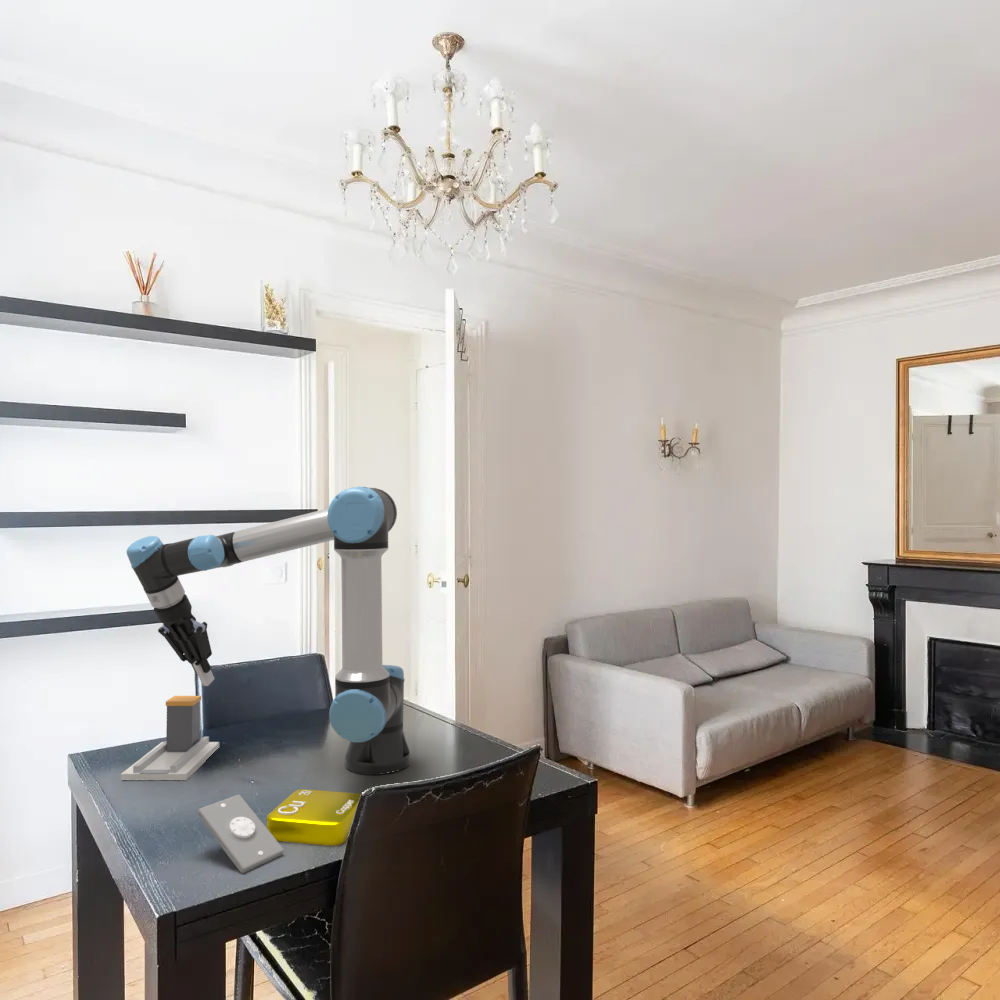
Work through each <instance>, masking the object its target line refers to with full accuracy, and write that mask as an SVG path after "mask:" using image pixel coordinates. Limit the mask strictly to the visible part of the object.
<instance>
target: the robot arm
mask: <svg viewBox="0 0 1000 1000" xmlns="http://www.w3.org/2000/svg"><path fill="white" fill-rule="evenodd" d="M397 516H398V509H397V505H396V502H395V500H394V499H393V498H392V496H390V494H388V492H386V491H384V490H383V489H380V488H377V487H366V486H352V487H350V488H346V489H344V490H342V491H341V492H338V494H336V495H335V496H334V497H333V499H332V500H331V502H330V504H329V505H328V508H324V509H320V510H316V511H312V512H309V513H305V514H300V515H297V516H292V517H289V518H285V519H280V520H276V521H272V522H268V523H264V524H261V525H260V524H259V525H257V526H253V527H249V528H246V529H241V530H236V531H233V532H228V533H224V534H220V535H215V534H208V535H198V536H196V537H191V538H188V539H184V540H180V541H177V542H170V543H164V542H163V541H162V540H161V539H160V537H158V536H157V535H149V536H144V537H142V538H140V539H138V540H135V541H134V542H132V543H131V544H130V545H129V546H128V547H127V549H126V556H127V558H128V561H129V563H130V566H131V569H132V570H133V571H134V573H135V575H136V577H137V579H138V581H139V582H140V584H141V586H142V589H143V591H144V593H145V595H146V597H147V599H148V601H149V604H150V605H151V606H152V607H153V611H154V613H155V616H156V617H157V619H158V621H159V622H160V623H161V624H162V625H161V627H159V628H158V629H157V632H158V633H159V634H160V635H161V636H162V637H163V638H164V639H165V640H166V642H167V643H168V644H169V646H170V647H171V649H172V650H173V651H174V652H175V653H176V655H177V656H178V657H179V659H180V661H182V662H186V661H187V662H188V663H189V664H190V665H191V667H192V669H193V671H194V673H196V674H197V676H198V678H199V681H200V683H201V685H202V686H203V687H209V686H210V685H211V684H212V683H213V681H214V680H215V676H214V675H213V672H212V666H211V665H210V663H209V661H208V659H209V658H210V657H211V656H212V655H213V652H212V651H213V650H212V647H211V643H210V640H209V635H208V630H207V629H208V622H206V621H203V622H202V623H201V622H199V621H198V620H197V618H196V617H195V616H194V614H192V604H191V602H190V600H189V597H188V595H187V594H186V593H185V592H186V591H185V588H184V587H183V584H182V582H181V580H180V578H179V576H183V575H187V574H193V573H199V572H206V571H209V570H214V569H219V568H227V567H231V566H232V567H233V566H234V565H236V564H241V563H244V562H248V561H252V560H256V559H260V558H264V557H268V556H269V557H270V556H272V555H276V554H280V553H281V554H282V553H286V552H289V551H294V550H297V549H298V550H299V549H302V548H306V547H311V546H315V545H318V544H323V543H327V542H330V541H333V550H334V551H335V552H336V554H338V555H339V556H340V558H341V561H340V562H341V563H340V564H341V570H340V571H341V572H340V573H341V574H340V575H341V649H342V651H341V652H342V656H341V658H342V660H341V661H342V662H341V663H342V666H341V669H340V670H339V672H337V673H336V674H335V677H334V681H335V682H334V683H335V685H334V688H335V690H334V691H335V697H334V699H332V702H331V704H330V707H329V712H328V716H329V718H328V719H329V722H330V725H331V728H332V729H333V731H334V732H335V733H336V734H337V735H338V736H339V737H341V738H342V739H343V740H345V741H348V742H349V743H348V745H347V748H346V753H345V757H344V766H345V769H347V770H349V771H350V772H352V773H356V772H358V773H357V774H360V773H365V774H364V775H371V774H376V775H381V774H380V773H387V772H392V771H397V770H400V771H402V770H401V769H403V768H405V767H406V766H408V765H409V766H410V764H411V751H410V747H409V745H408V740H407V738H406V735H405V731H404V705H405V704H404V703H405V702H404V700H405V699H404V697H405V695H404V694H405V690H404V688H405V684H404V683H405V675H404V673H405V672H404V669H403V668H402V667H401V666H398V665H391V664H383V605H382V604H383V603H382V601H383V597H382V596H383V593H382V592H383V590H382V587H383V585H382V582H383V581H382V577H383V576H382V557H383V555H384V554H385V553H386V552H387V551H388V550H389V532H391V530H392V529H393V527H394V526H395V524H396V522H397V519H398V518H397ZM409 763H410V764H409ZM409 766H408V767H409ZM406 768H407V767H406ZM406 768H405V769H406ZM403 770H404V769H403ZM397 772H398V771H397Z"/></svg>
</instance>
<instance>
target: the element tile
mask: <svg viewBox="0 0 1000 1000" xmlns="http://www.w3.org/2000/svg"><path fill="white" fill-rule="evenodd" d="M361 794H362V793H359V792H358V793H356V792H346V791H344V792H343V791H334V790H333V791H332V790H320V789H319V790H318V789H308V788H307V789H305V788H303V789H301V788H299V789H297V790H295V791H294V792H292V793H291V794H290V795H289V796H287V798H285V799H284V800H283V801H282V802H281V803H279V805H277V806H276V807H275V808H274V809H273V810H272V811H270V812H269V813H268V814H267V815H266V828H267V829H268V830H269V832H270V833H271V834H272V835H273V837H274V838H275V839H276V840H277V842H284V843H294V844H307V845H318V846H327V847H328V846H331V847H332V846H340V845H342V844H345V842H346V841H347V840H348V839H347V836H348V834H349V831H350V827H351V824H352V821H353V818H354V814H355V811H356V807H357V804H358V801H359V798H360V795H361ZM346 839H347V840H346Z"/></svg>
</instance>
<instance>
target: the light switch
mask: <svg viewBox="0 0 1000 1000" xmlns="http://www.w3.org/2000/svg"><path fill="white" fill-rule="evenodd" d="M196 815H197V816H198V818H199V819H200V820H201V822H202V823H203V825H205V827H206V828H207V830H208V831H209V833H210V834H211V835H212V836H213V838H214V839H215V840H216V841H217V843H218V844H219V846H220V847H221V849H223V851H224V852H225V853H226V855H227V857H228V858H229V859H230V860H231V862H232V863H233V864H234V865H235V867H236V868H237V870H238V871H239V872H240V873H241V874H245V873H247V872H249V871H251V870H253V869H255V868H257V867H259V866H261V865H264V864H265V863H269V862H270V861H272V860H275V859H277V858H279V857H281V856H282V855H283V854H284V852H285V849H284V848H283V847H282V845H281V844H280V843H279V841H277V840H276V839H275V838H274V837H273V835H272V834H271V833H270V832H269V830H268V829H267V826H266V825H265V824H264V823H263V821H261V820H260V817H258V816H257V814H256V813H255V812H254V810H253V809H252V808H251V807H250V806H249V805H248V803H247V801H246V800H245V799H244V798H243V797H242V796H241V795H240V794H235V795H233V796H230V797H227V798H225V799H223V800H219V801H216V802H214V803H212V804H208V805H206V806H203V807H200V808H199V809H198V810H197V812H196Z"/></svg>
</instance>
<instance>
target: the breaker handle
mask: <svg viewBox="0 0 1000 1000" xmlns="http://www.w3.org/2000/svg"><path fill="white" fill-rule="evenodd" d="M201 701H202V695H173V696H172V697H170V698H169V699H166V701H165V706H166V732H165V733H166V735H165V736H166V739H165V741H166V751H188V750H189V749H190V748H192V747H193V746H194V745H195V744H196V743H197V742H198V741H199V740H200V733H201V732H200V731H201V730H200V727H201V726H200V721H201V718H200V717H201Z"/></svg>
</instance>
